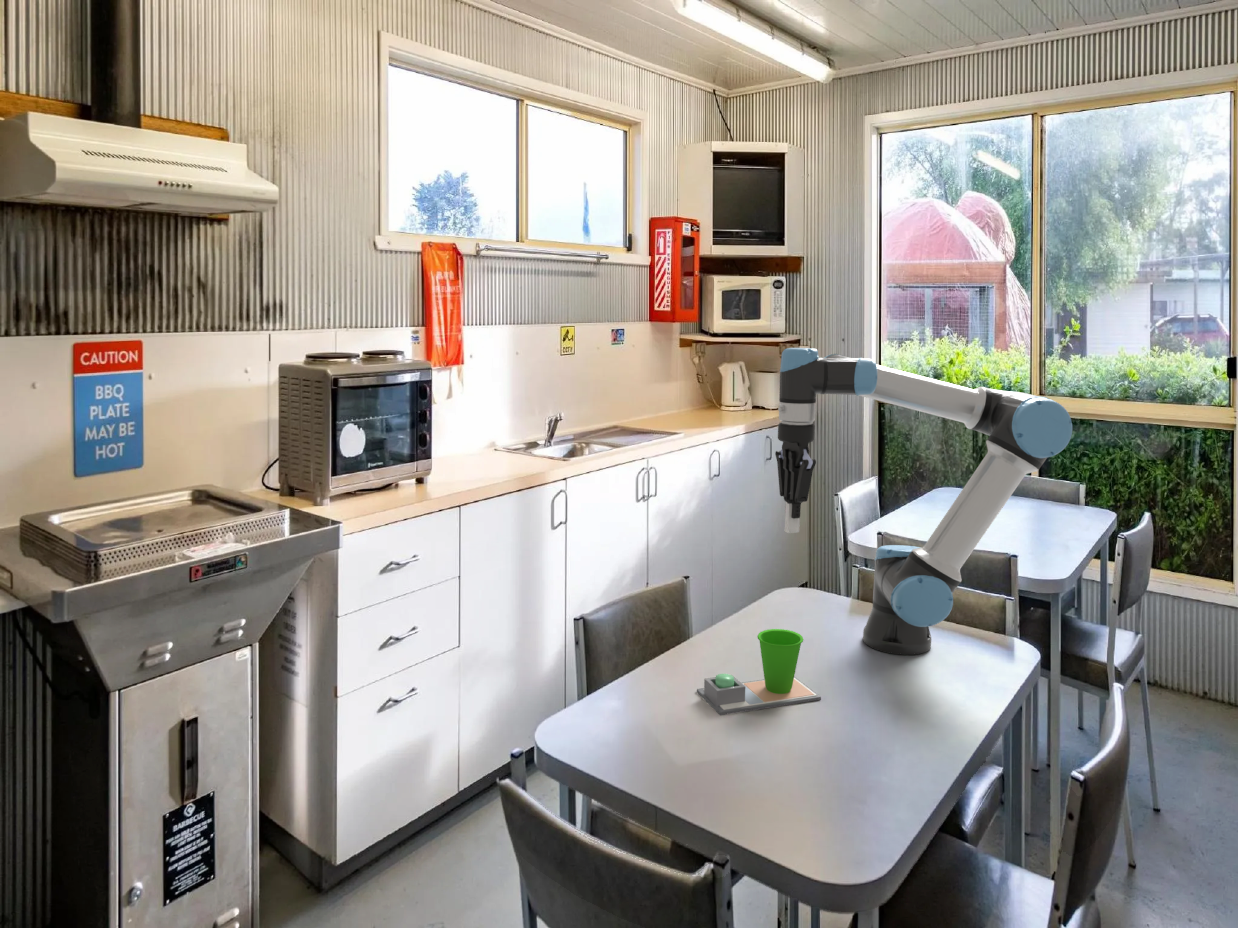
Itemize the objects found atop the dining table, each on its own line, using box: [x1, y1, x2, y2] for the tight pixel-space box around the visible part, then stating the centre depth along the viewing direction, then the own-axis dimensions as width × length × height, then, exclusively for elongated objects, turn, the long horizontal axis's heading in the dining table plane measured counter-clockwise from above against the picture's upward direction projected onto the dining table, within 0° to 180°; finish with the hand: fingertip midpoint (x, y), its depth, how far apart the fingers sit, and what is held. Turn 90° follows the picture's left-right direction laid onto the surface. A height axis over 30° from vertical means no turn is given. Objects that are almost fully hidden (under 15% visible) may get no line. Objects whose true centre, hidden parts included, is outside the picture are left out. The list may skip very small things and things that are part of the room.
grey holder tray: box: [696, 674, 822, 716], centre depth 177 cm, size 22×11×4 cm, turn 109°
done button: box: [715, 673, 735, 689], centre depth 175 cm, size 4×4×3 cm
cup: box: [757, 628, 804, 694], centre depth 178 cm, size 9×9×11 cm
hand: (791, 531), depth 190 cm, fingers closed
